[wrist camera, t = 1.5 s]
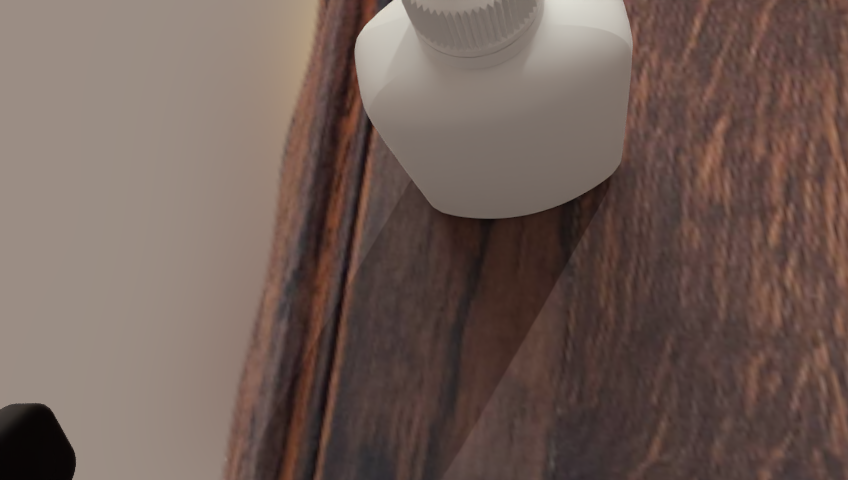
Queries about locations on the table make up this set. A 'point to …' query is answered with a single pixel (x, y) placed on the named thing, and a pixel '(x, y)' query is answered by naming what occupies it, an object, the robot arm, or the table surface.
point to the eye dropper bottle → (499, 98)
